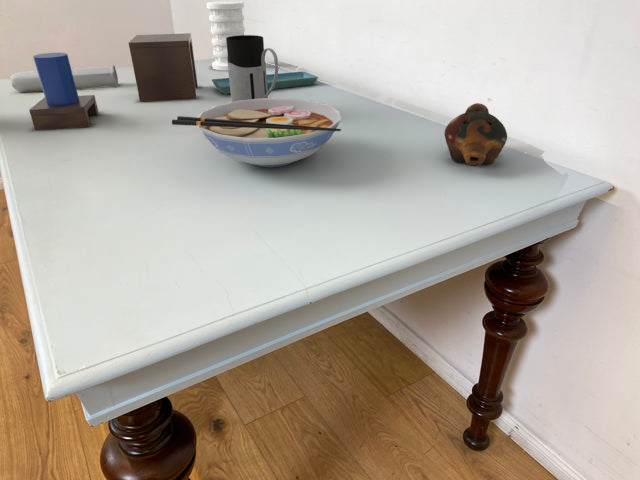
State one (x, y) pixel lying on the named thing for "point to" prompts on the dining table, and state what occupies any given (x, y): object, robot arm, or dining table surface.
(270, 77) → the teal serving tray
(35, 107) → the low shelf
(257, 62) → the glass holder
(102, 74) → the tube
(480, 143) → the decorative turtle
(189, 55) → the brown block
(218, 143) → the ramen bowl
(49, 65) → the can
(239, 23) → the decorative container
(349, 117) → the dining table surface
